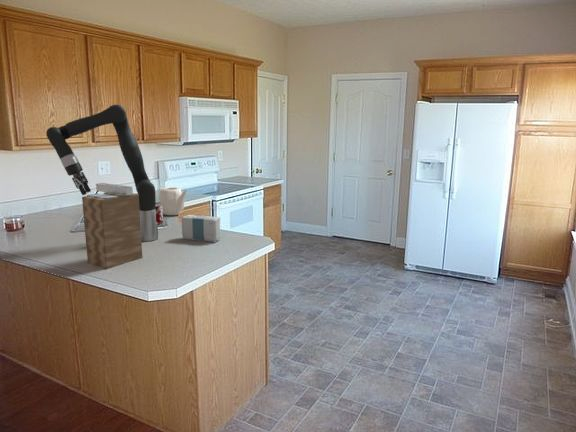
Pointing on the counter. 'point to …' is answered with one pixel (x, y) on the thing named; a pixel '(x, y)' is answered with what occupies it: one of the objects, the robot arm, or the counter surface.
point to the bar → (114, 189)
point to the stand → (112, 229)
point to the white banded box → (201, 227)
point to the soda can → (159, 213)
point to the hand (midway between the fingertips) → (86, 193)
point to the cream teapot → (172, 200)
